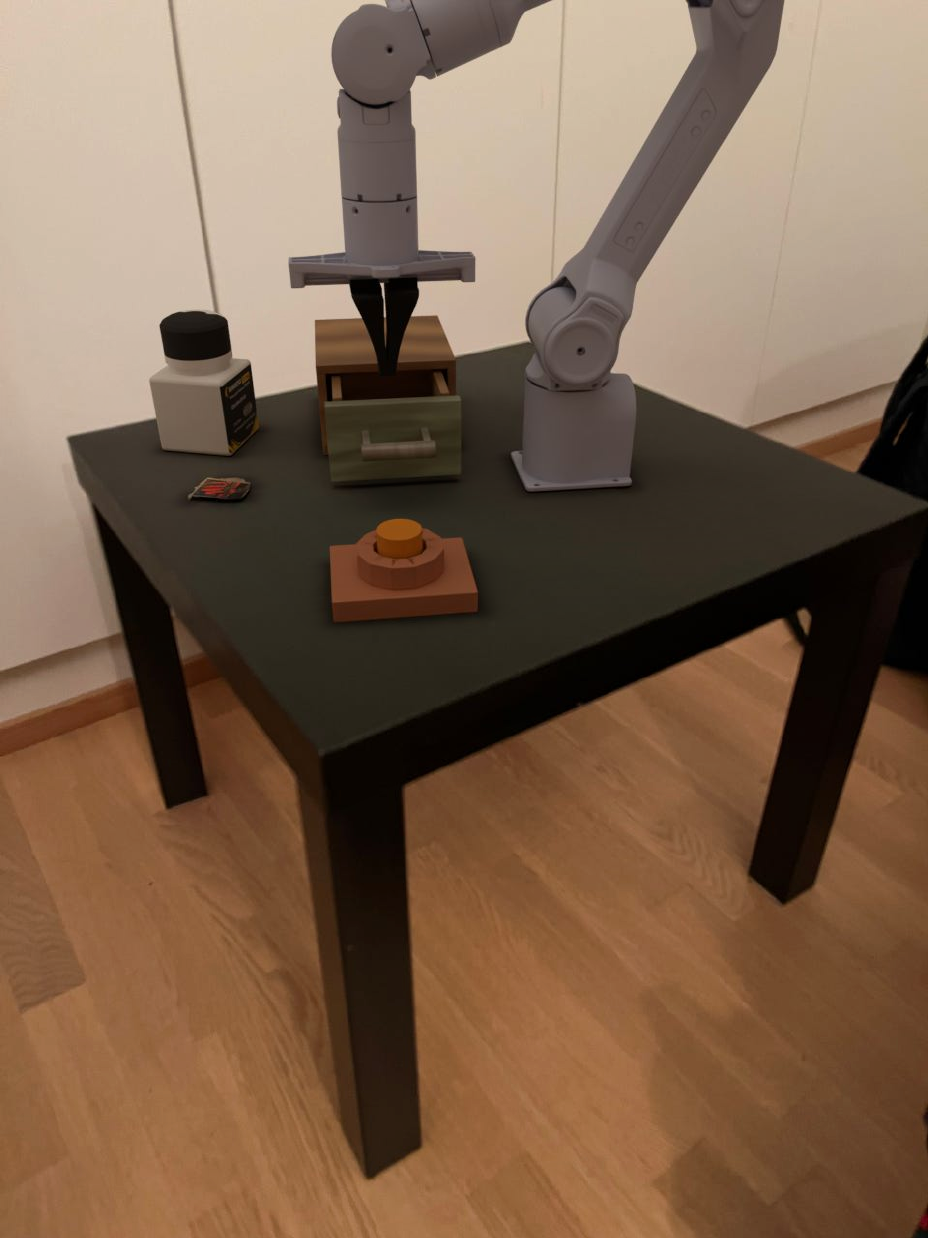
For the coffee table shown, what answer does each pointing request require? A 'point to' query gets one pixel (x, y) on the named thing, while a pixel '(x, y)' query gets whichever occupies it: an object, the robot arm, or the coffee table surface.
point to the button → (399, 539)
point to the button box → (401, 580)
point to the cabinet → (353, 351)
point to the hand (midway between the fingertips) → (387, 372)
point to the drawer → (392, 426)
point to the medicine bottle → (202, 387)
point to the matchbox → (222, 488)
